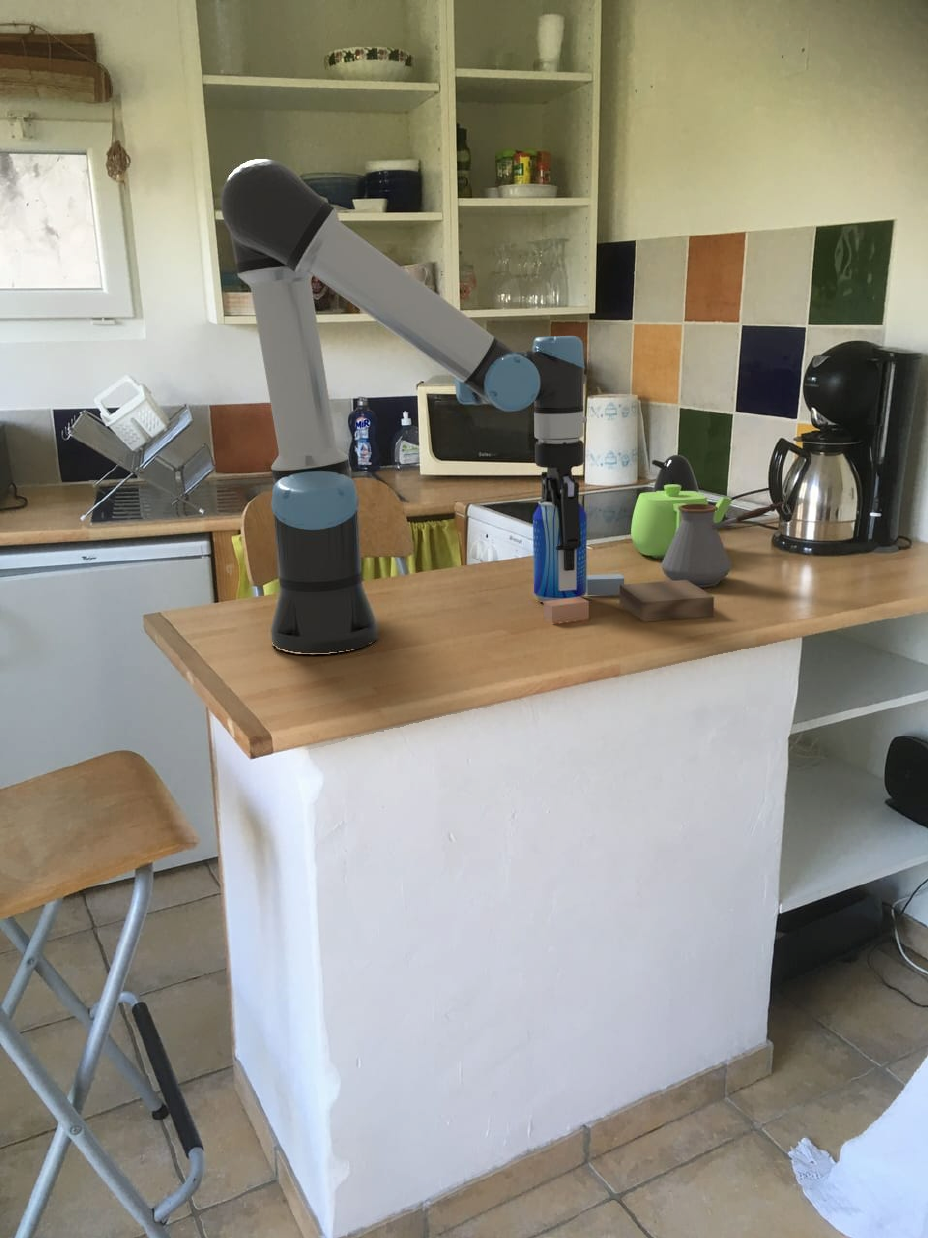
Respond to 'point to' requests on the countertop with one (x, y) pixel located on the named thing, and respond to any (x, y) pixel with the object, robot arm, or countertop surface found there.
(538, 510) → the beer can
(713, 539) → the coffee pot
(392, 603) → the countertop surface
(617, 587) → the greyblue brick
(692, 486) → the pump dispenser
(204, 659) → the countertop surface
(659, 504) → the teapot
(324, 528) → the robot arm
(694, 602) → the walnut slab
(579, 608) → the terracotta brick
